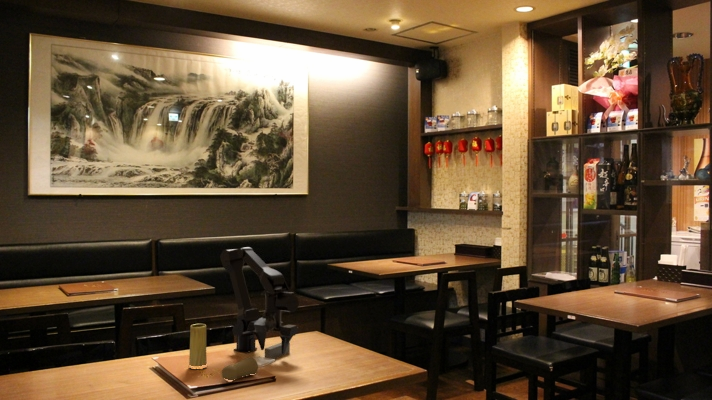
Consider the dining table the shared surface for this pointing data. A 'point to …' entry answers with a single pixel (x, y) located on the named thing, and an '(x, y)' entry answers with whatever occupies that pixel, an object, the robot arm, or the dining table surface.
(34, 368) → the dining table surface
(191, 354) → the vase
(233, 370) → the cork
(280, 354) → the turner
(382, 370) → the dining table surface
